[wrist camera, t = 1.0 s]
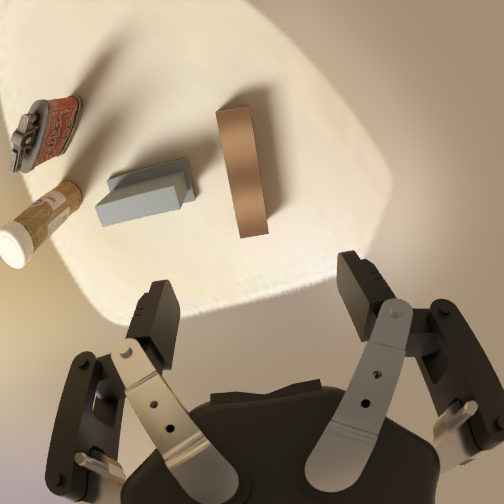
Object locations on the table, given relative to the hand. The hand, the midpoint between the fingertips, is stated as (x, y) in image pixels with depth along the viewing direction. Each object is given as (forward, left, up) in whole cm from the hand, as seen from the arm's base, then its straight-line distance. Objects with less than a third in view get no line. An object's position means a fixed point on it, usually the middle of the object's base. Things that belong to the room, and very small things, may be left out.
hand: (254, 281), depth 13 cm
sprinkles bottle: (-2, -23, -20) cm, 31 cm away
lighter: (-11, -20, -20) cm, 30 cm away
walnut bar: (0, 0, -20) cm, 20 cm away
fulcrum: (0, -11, -20) cm, 23 cm away
